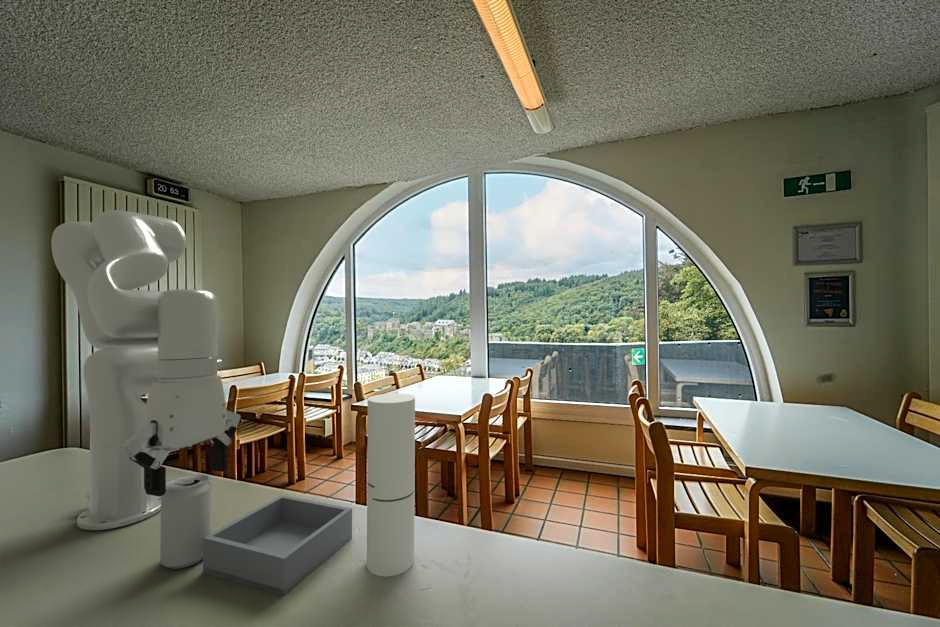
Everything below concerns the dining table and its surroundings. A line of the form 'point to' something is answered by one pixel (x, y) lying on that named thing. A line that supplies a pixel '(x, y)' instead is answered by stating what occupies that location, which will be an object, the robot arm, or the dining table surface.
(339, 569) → the dining table surface
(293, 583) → the box
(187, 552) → the beverage can
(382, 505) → the cylindrical container
